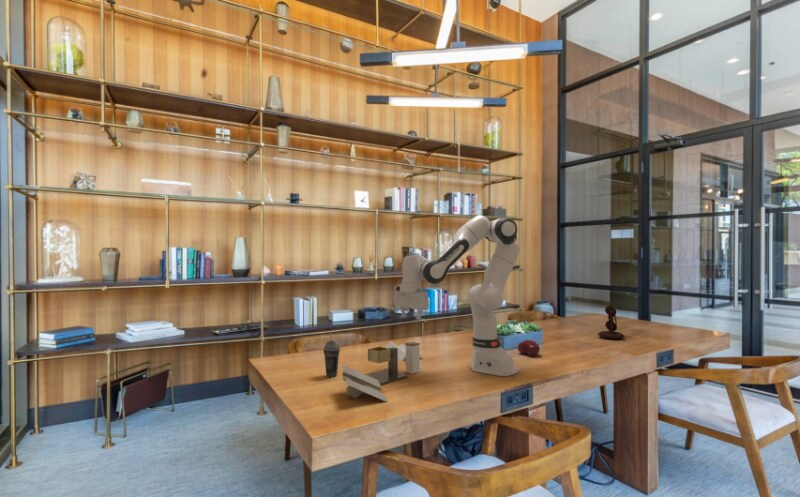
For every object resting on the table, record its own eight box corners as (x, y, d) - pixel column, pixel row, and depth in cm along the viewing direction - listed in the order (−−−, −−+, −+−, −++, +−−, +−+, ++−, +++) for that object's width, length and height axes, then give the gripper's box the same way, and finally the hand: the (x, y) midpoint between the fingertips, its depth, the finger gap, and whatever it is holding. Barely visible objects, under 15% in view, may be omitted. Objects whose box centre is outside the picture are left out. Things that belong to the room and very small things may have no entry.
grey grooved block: (362, 397, 163) (331, 373, 159) (378, 379, 164) (348, 355, 159) (370, 423, 146) (335, 397, 141) (388, 402, 146) (354, 376, 141)
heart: (528, 349, 221) (515, 354, 216) (527, 336, 220) (514, 340, 215) (546, 355, 211) (533, 360, 206) (545, 340, 210) (532, 345, 205)
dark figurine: (626, 341, 244) (625, 308, 244) (599, 339, 249) (599, 307, 250) (622, 336, 258) (621, 305, 258) (596, 335, 263) (596, 304, 263)
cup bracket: (407, 377, 175) (407, 347, 175) (380, 385, 164) (380, 354, 164) (386, 370, 185) (386, 342, 185) (359, 378, 174) (359, 348, 174)
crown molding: (422, 360, 206) (422, 353, 206) (400, 362, 202) (400, 355, 202) (404, 346, 235) (404, 340, 236) (384, 348, 232) (384, 342, 232)
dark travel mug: (326, 379, 172) (326, 333, 173) (321, 375, 179) (321, 330, 179) (342, 377, 176) (342, 331, 176) (336, 372, 182) (336, 329, 182)
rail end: (419, 371, 184) (419, 343, 184) (412, 373, 181) (412, 344, 181) (412, 369, 187) (412, 341, 188) (405, 371, 184) (405, 343, 184)
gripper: (432, 289, 180) (431, 320, 179) (402, 286, 195) (401, 314, 195) (422, 290, 175) (421, 321, 175) (392, 287, 191) (391, 316, 191)
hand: (411, 318), depth 185 cm, fingers open, 8 cm apart
